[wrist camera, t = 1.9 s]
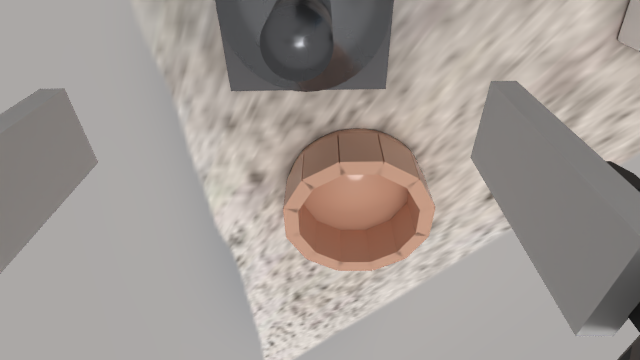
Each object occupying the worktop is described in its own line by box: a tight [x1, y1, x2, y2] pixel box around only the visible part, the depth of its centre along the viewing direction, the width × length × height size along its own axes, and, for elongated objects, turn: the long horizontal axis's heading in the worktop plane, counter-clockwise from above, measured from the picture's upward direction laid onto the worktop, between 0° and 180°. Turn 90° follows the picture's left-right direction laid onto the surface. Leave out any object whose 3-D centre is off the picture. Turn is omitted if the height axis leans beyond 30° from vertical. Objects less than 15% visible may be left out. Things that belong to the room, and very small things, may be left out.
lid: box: [216, 0, 392, 92], centre depth 21 cm, size 12×12×9 cm
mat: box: [215, 0, 394, 91], centre depth 25 cm, size 12×12×1 cm
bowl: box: [283, 129, 435, 271], centre depth 33 cm, size 12×12×5 cm
